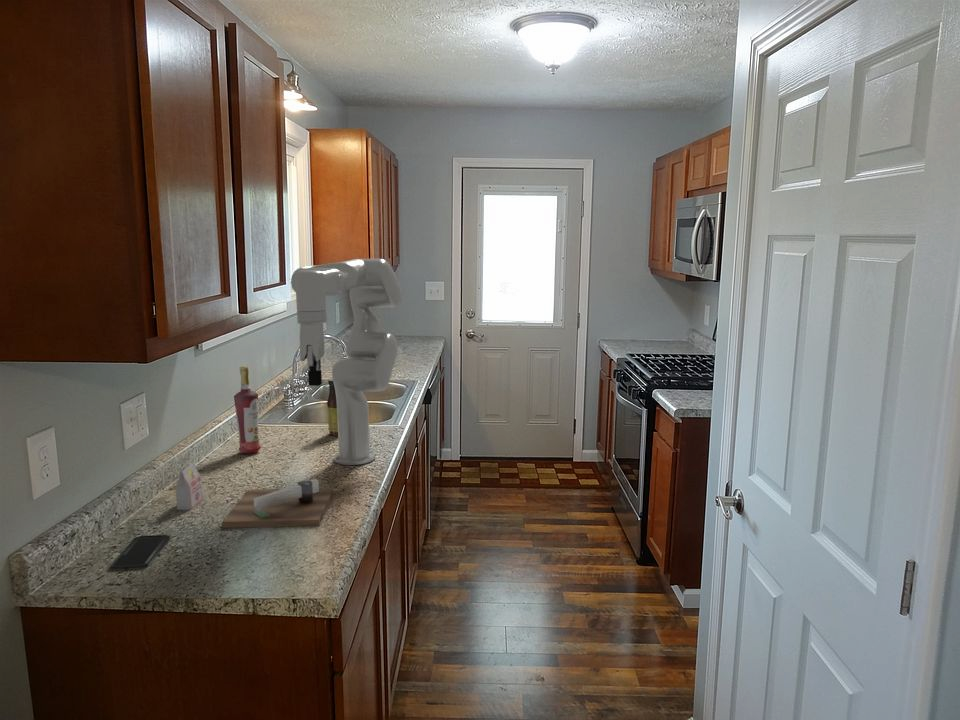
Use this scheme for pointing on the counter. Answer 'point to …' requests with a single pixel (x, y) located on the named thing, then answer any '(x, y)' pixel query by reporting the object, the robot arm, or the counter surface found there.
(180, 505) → the pink white carton
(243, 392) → the liquor
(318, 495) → the dial board
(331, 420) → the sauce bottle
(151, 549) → the phone
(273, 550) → the counter surface
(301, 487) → the dial pointer
